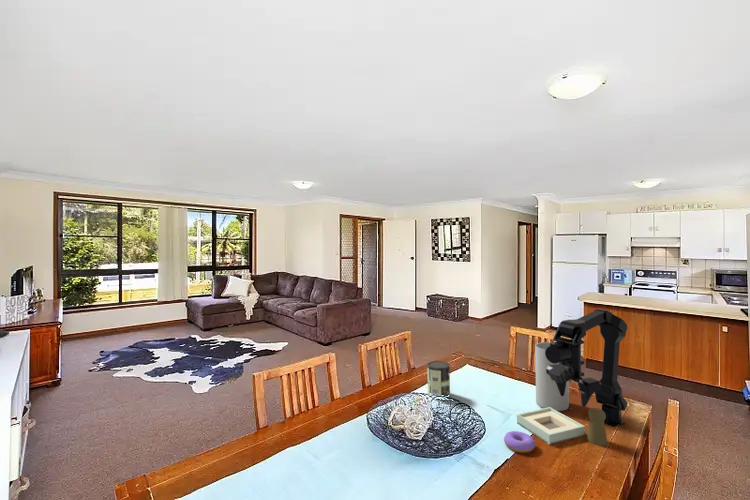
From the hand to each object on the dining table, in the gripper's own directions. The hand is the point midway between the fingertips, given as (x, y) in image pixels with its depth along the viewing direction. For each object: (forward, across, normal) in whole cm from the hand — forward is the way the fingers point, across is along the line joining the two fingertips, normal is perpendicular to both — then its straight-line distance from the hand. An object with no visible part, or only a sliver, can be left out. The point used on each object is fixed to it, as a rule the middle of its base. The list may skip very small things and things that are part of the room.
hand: (572, 401), depth 130 cm
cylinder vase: (+14, -23, +12) cm, 29 cm away
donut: (+13, -2, -22) cm, 25 cm away
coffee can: (+13, -49, -28) cm, 57 cm away
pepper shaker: (+14, +4, +6) cm, 15 cm away
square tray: (+13, -7, -4) cm, 15 cm away
